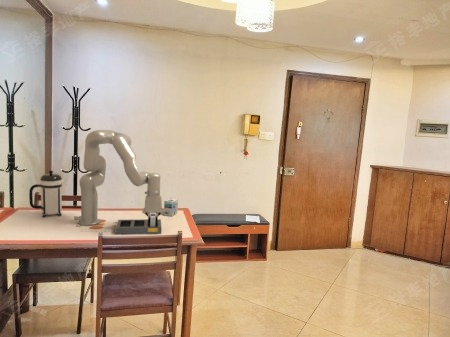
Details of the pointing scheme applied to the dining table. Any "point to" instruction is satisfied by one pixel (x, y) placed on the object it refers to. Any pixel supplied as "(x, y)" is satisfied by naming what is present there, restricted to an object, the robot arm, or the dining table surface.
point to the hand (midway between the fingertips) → (152, 222)
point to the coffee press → (49, 194)
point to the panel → (152, 219)
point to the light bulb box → (170, 207)
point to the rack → (137, 227)
